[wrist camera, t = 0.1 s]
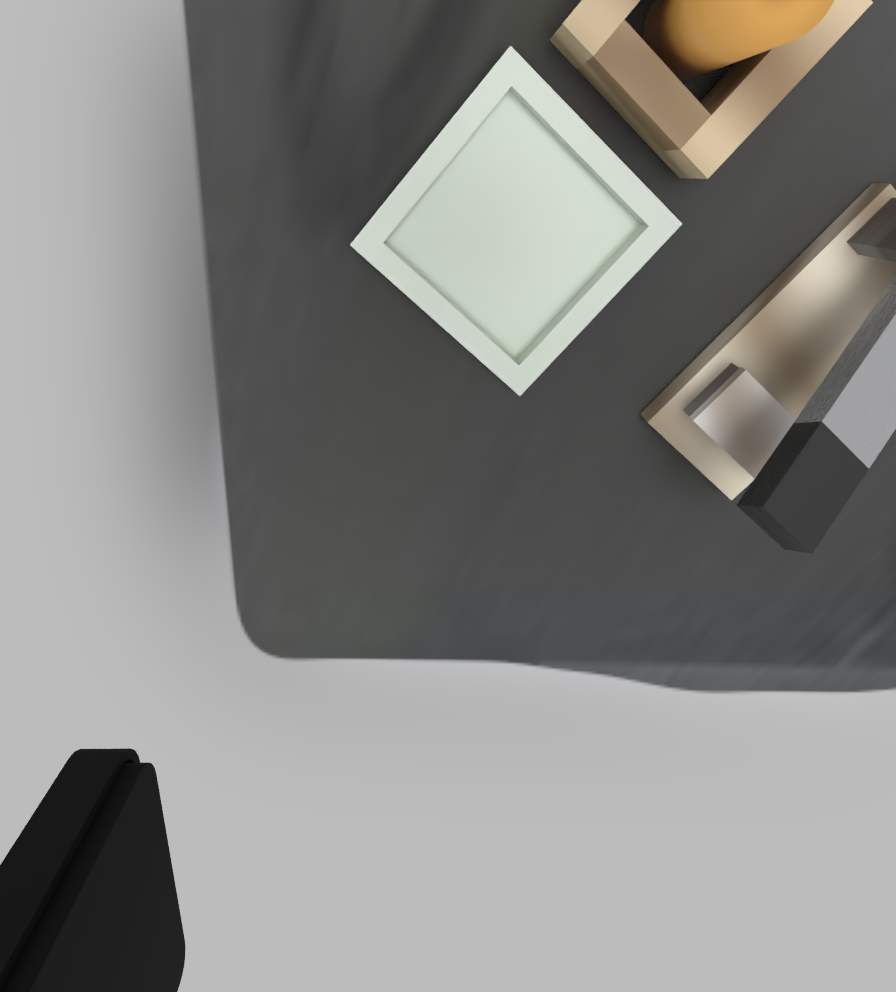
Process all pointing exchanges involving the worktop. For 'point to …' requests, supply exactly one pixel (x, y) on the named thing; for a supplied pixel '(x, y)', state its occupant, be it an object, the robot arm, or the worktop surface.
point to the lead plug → (724, 30)
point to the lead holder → (668, 103)
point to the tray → (515, 225)
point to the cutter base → (780, 348)
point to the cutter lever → (831, 438)
